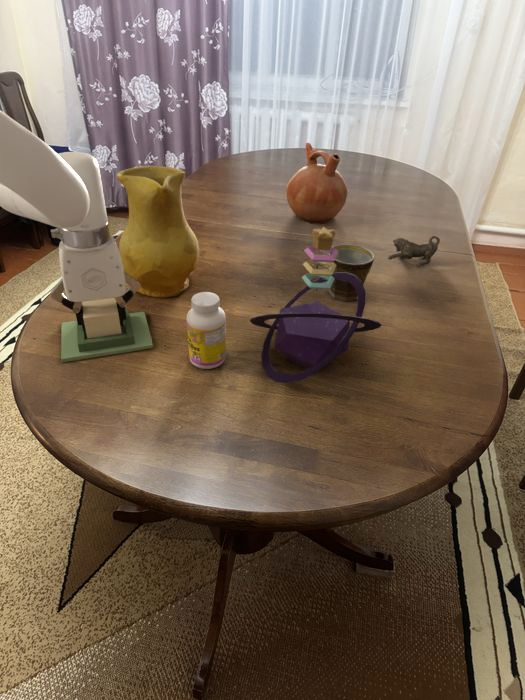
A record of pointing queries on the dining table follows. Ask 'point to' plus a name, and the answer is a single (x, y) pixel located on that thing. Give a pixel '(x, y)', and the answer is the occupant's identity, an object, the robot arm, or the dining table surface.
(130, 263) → the pitcher
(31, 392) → the dining table surface
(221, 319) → the supplement bottle
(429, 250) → the dog figurine
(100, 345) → the green rectangular tray
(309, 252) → the purple faceted ringed piece
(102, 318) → the beige cube block
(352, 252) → the ceramic cup
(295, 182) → the jug
